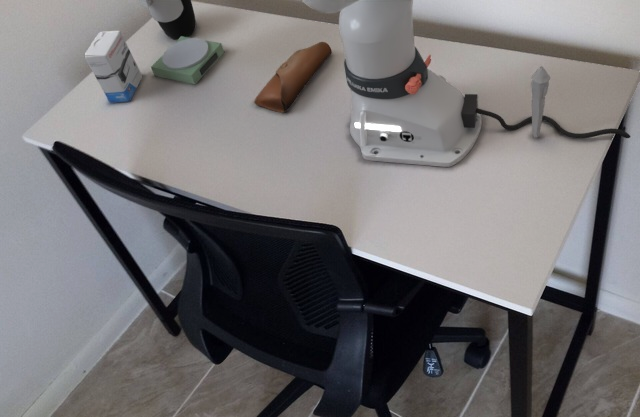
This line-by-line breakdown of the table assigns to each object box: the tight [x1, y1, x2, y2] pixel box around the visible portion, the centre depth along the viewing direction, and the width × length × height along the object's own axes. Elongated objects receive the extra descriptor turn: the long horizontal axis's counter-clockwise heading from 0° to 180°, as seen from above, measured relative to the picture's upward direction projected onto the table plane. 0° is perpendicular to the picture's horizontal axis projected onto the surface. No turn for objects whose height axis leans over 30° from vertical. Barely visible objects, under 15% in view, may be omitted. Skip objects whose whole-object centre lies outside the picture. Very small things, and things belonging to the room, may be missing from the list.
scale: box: [150, 36, 225, 85], centre depth 136 cm, size 11×11×3 cm
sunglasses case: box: [253, 41, 333, 114], centre depth 125 cm, size 18×7×7 cm, turn 151°
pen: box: [530, 65, 551, 139], centre depth 99 cm, size 2×3×14 cm
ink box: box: [84, 30, 143, 104], centre depth 131 cm, size 8×5×12 cm, turn 171°
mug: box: [156, 0, 197, 41], centre depth 143 cm, size 12×9×10 cm
